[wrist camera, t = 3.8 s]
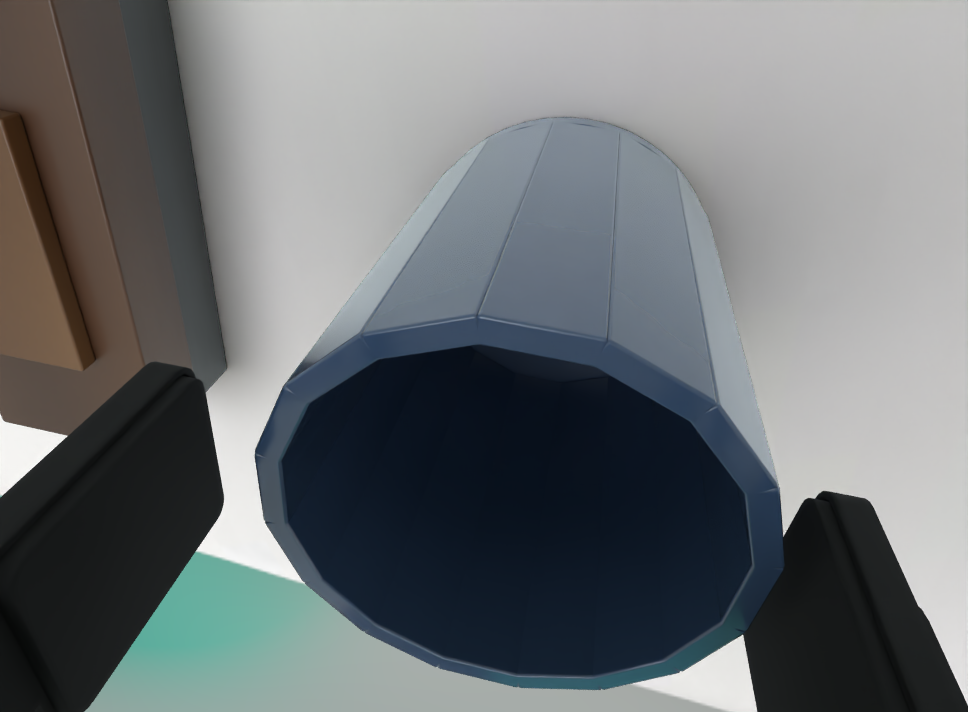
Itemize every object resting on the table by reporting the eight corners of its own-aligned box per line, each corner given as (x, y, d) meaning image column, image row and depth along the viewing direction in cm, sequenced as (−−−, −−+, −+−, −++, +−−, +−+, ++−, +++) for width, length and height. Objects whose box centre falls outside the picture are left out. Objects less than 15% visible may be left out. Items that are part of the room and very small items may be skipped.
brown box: (170, -65, 14) (11, -62, 10) (237, 378, 21) (156, 471, 17) (-39, -94, 14) (-260, -100, 11) (95, 349, 21) (-12, 433, 18)
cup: (753, 143, 14) (892, 392, 6) (665, 401, 18) (688, 731, 11) (430, 93, 14) (225, 266, 7) (417, 352, 19) (278, 629, 11)
